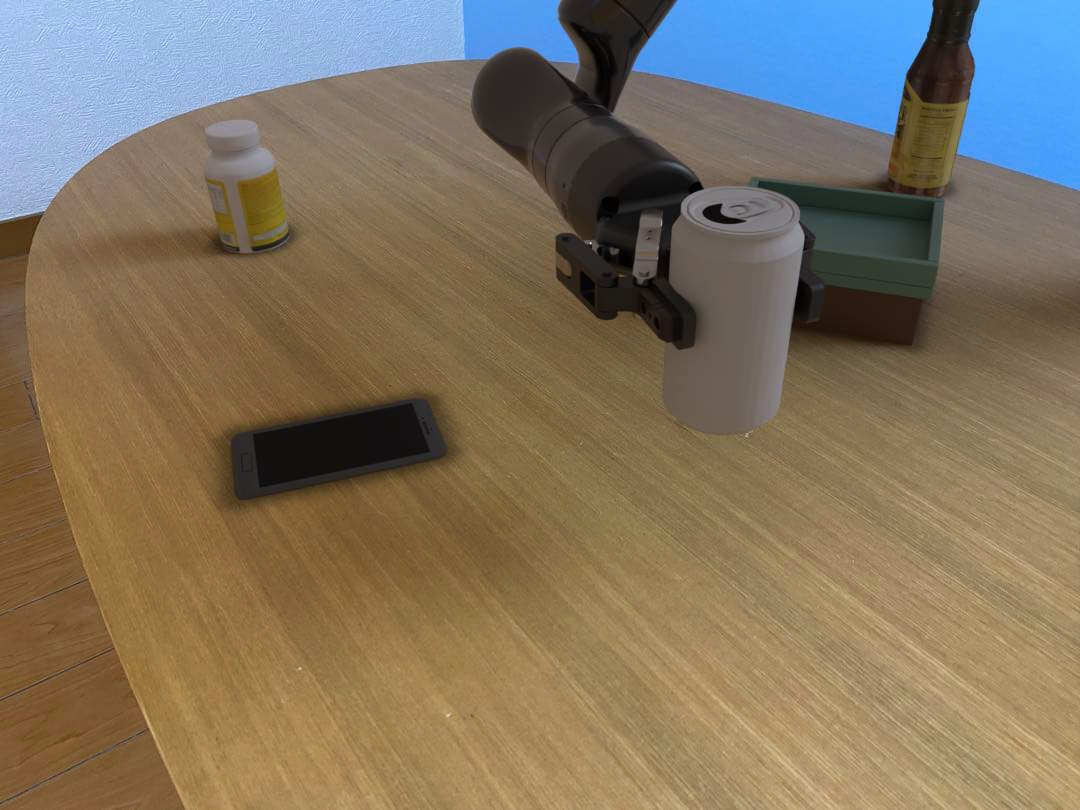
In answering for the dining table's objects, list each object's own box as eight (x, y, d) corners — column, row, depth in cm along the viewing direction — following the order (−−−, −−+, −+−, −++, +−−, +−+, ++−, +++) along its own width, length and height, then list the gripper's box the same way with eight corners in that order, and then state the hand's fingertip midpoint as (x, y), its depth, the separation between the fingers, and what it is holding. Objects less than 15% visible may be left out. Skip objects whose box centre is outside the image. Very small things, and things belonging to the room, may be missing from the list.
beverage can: (640, 393, 53) (648, 195, 46) (737, 365, 55) (758, 171, 48) (699, 457, 49) (718, 247, 42) (802, 424, 51) (836, 218, 43)
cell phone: (231, 442, 65) (229, 433, 65) (427, 403, 69) (426, 395, 68) (237, 509, 60) (235, 500, 59) (451, 463, 63) (450, 454, 62)
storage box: (925, 282, 82) (945, 198, 78) (916, 357, 72) (938, 266, 68) (742, 256, 87) (751, 175, 83) (711, 323, 77) (719, 236, 73)
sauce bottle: (895, 175, 102) (935, -22, 90) (954, 188, 99) (1004, -15, 87) (874, 196, 98) (913, -8, 86) (935, 209, 95) (984, -1, 83)
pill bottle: (303, 236, 93) (282, 120, 86) (264, 264, 88) (238, 143, 81) (249, 227, 95) (224, 113, 88) (208, 254, 90) (178, 135, 83)
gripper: (509, 152, 55) (620, 278, 42) (729, 119, 59) (893, 225, 46) (515, 267, 59) (617, 412, 46) (719, 229, 63) (867, 355, 50)
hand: (753, 319), depth 46 cm, fingers closed on beverage can, 6 cm apart
